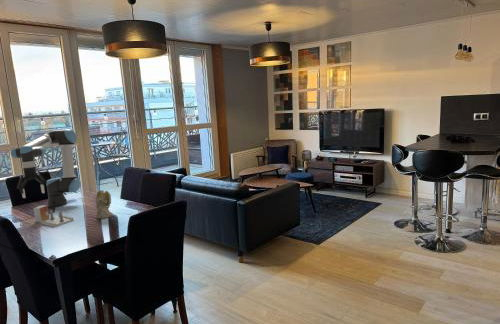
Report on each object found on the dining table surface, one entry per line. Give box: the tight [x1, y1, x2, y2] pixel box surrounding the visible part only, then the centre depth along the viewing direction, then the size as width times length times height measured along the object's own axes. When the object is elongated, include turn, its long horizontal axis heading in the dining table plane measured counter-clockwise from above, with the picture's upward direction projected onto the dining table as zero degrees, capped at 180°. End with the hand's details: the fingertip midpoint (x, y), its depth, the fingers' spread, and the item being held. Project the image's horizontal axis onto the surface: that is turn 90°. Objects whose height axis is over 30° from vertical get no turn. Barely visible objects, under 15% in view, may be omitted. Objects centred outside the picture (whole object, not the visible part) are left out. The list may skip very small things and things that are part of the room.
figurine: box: [95, 190, 113, 220], centre depth 252 cm, size 12×12×20 cm
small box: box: [33, 204, 51, 223], centre depth 254 cm, size 8×6×10 cm
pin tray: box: [39, 209, 74, 228], centre depth 247 cm, size 14×18×8 cm
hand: (34, 195), depth 250 cm, fingers open, 13 cm apart
